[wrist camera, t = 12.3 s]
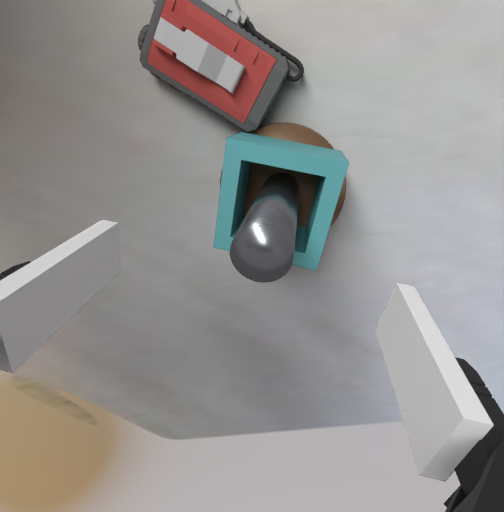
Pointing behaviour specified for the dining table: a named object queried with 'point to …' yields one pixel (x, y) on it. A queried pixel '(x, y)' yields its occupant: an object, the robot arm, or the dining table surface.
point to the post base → (304, 179)
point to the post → (268, 231)
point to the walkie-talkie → (216, 58)
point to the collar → (288, 157)
